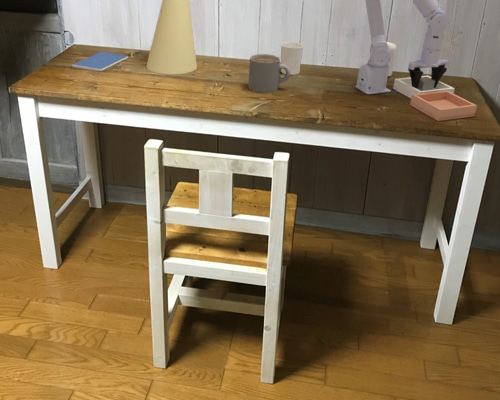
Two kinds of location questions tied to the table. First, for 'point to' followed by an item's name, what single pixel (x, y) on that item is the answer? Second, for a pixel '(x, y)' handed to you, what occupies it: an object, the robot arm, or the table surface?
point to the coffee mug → (266, 73)
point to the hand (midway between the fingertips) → (423, 88)
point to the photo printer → (393, 52)
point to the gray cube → (426, 84)
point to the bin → (443, 105)
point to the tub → (406, 88)
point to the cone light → (173, 40)
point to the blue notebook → (100, 61)
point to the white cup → (291, 56)
